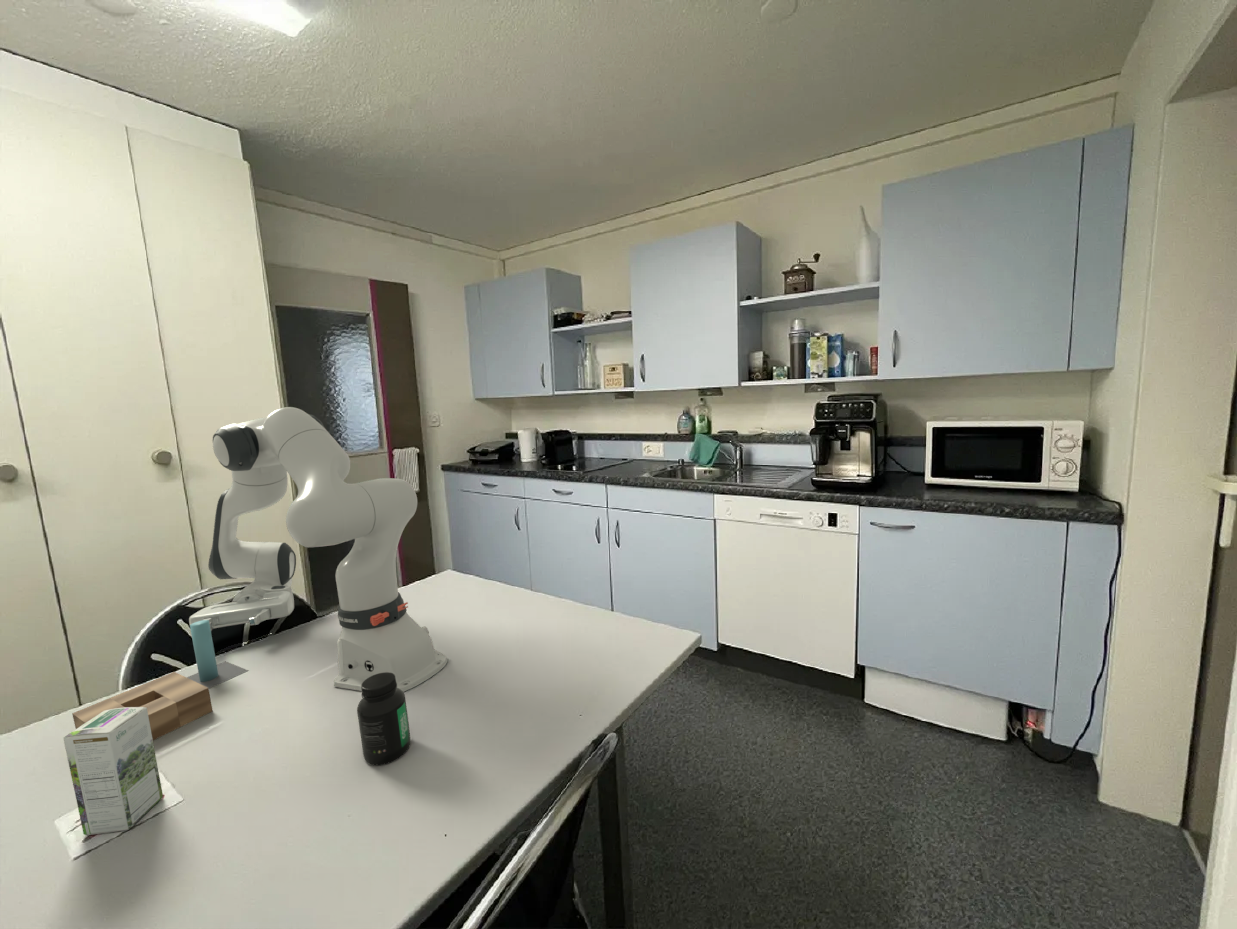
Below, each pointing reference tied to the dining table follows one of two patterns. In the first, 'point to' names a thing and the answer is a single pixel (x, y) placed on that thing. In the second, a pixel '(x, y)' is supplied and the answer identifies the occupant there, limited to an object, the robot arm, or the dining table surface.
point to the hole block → (158, 703)
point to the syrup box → (113, 769)
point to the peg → (204, 650)
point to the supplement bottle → (383, 720)
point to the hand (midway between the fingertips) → (229, 625)
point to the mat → (220, 674)
